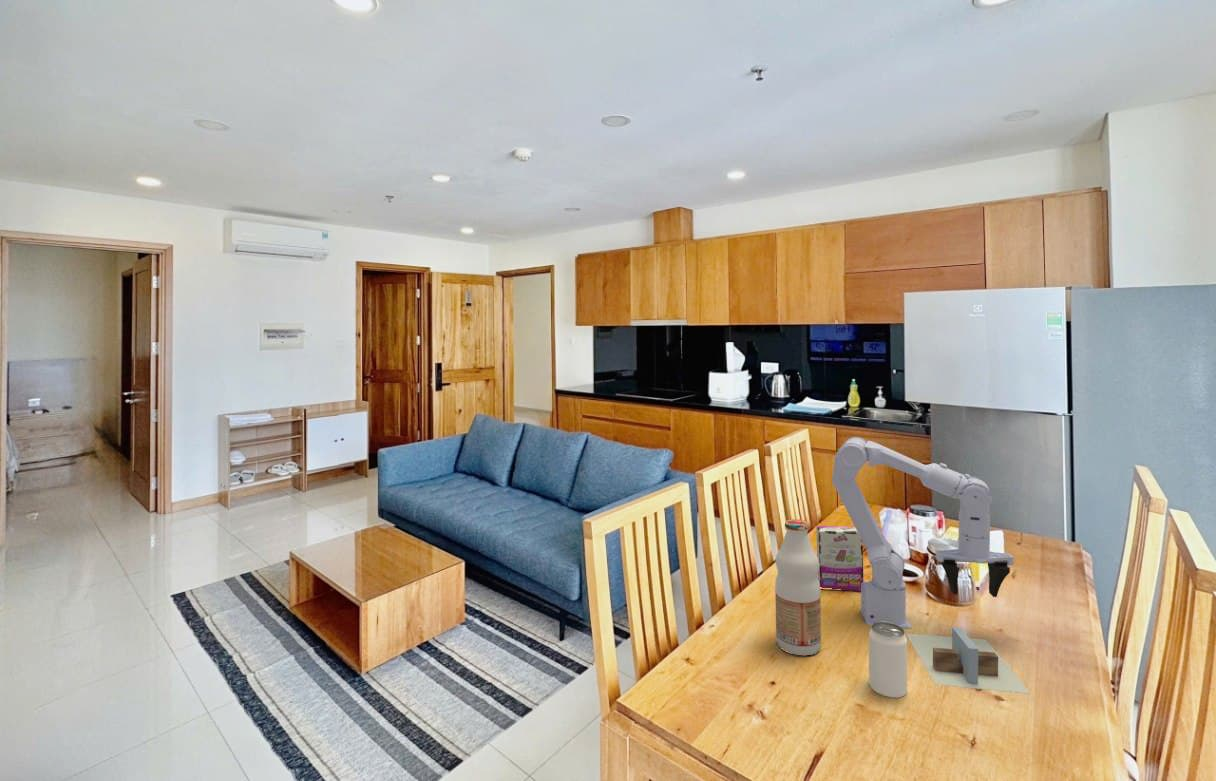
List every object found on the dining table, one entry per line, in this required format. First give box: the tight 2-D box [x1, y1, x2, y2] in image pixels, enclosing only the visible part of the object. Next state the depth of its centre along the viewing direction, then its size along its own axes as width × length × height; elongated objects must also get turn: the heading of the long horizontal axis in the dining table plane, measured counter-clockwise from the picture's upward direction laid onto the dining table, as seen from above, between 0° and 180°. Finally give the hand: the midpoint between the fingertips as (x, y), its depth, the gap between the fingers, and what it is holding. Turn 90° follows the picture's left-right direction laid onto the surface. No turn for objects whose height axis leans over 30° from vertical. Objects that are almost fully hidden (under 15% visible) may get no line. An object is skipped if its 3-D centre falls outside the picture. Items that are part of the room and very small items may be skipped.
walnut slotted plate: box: [933, 648, 998, 677], centre depth 108 cm, size 11×2×4 cm, turn 76°
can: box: [868, 622, 908, 699], centre depth 104 cm, size 6×6×12 cm
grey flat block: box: [951, 626, 978, 684], centre depth 108 cm, size 2×8×7 cm, turn 167°
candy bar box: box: [816, 525, 864, 592], centre depth 147 cm, size 11×5×16 cm, turn 77°
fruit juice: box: [774, 518, 822, 657], centre depth 119 cm, size 9×9×28 cm
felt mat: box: [905, 633, 1032, 695], centre depth 112 cm, size 16×19×1 cm
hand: (973, 593), depth 120 cm, fingers open, 7 cm apart
